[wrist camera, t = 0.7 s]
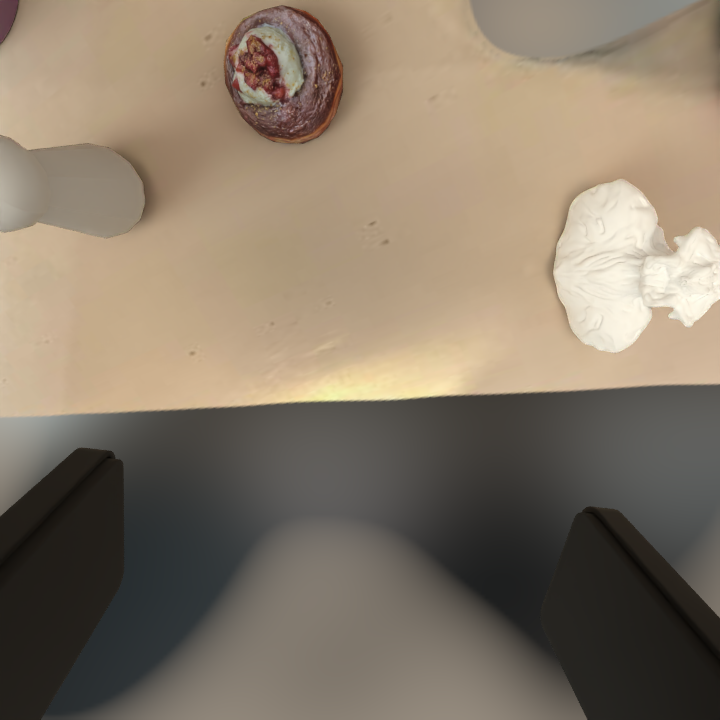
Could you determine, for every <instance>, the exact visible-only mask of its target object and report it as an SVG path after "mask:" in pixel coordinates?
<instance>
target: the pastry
mask: <svg viewBox="0 0 720 720" xmlns="http://www.w3.org/2000/svg"><path fill="white" fill-rule="evenodd" d="M224 70H225V83H226V86H227V88H228V90H229V93H230V95H231V97H232V99H233V101H234V104H235V105H236V107H237V109H238V111H239V113H240V114H241V116H242V117H243V118H244V120H245V121H246V122H247V123H249V124H250V125H251V126H252V127H253V128H254V129H255V130H256V131H257V132H258V133H259V134H260V135H262V136H264V137H266V138H268V139H270V140H272V141H274V142H284V143H305V142H308V141H310V140H312V139H314V138H317V137H319V136H320V135H321V134H322V133H323V132H324V131H325V130H326V129H327V128H328V126H329V124H330V122H331V120H332V118H333V117H334V115H335V114H336V112H337V108H338V105H339V102H340V99H341V96H342V93H343V65H342V63H341V60H340V58H339V56H338V54H337V51H336V49H335V47H334V45H333V42H332V40H331V38H330V35H329V34H328V32H327V31H326V30H325V28H324V27H323V26H322V25H321V23H320V22H319V21H318V19H316V18H315V17H313V16H312V15H310V14H309V13H308V12H306V11H304V10H300V9H296V8H291V7H287V6H283V5H281V6H277V7H273V8H269V9H265V10H262V11H259V12H257V13H255V14H253V15H250V16H248V17H246V18H244V19H243V20H242V21H241V22H240V24H239V25H238V26H237V28H236V29H235V30H234V31H233V33H232V34H231V35H230V37H229V38H228V39H227V41H226V49H225V59H224Z"/></svg>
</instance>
